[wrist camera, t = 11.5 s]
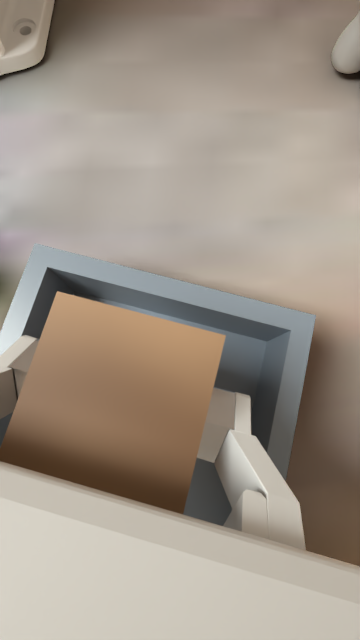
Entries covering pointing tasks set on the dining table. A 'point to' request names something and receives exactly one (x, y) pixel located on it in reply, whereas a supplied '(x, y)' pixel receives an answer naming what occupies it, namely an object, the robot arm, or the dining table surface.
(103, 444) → the walnut block
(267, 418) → the box
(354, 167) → the dining table surface
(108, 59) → the dining table surface
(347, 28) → the round bodied animal figurine
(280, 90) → the dining table surface
